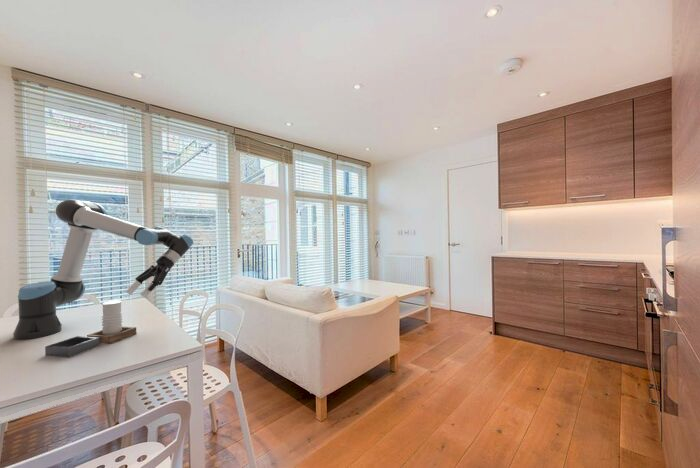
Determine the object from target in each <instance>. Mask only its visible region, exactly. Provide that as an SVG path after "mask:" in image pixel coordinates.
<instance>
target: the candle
mask: <svg viewBox="0 0 700 468" xmlns="http://www.w3.org/2000/svg"><path fill="white" fill-rule="evenodd" d="M122 302H123V301H122V300H110V301H106V302H103V303H101V305H102V316H101V318H102V319H101V326H102V330H103V334H105V336H112V335H114V334H117V333H120V331H122V327H123V325H122V323H123V312H122Z"/></svg>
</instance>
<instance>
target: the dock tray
mask: <svg viewBox="0 0 700 468" xmlns="http://www.w3.org/2000/svg"><path fill="white" fill-rule="evenodd" d="M134 335H137V327H136V326H122V331H120V333H117V334H114V335H112V336H105V334H103V329H101V330H99V331H96V332H93V333H89V334H86V337H98V338H99V344H104V345H105V344H107V345H112V344H115V343H116V342H119V341H121V340H124V339H127V338H130V337H132V336H134Z"/></svg>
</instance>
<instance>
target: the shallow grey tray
mask: <svg viewBox="0 0 700 468" xmlns="http://www.w3.org/2000/svg"><path fill="white" fill-rule="evenodd" d="M99 346H100V343H99V338H98V337H87V336H82V335H81V336H80V335H77V336H74V337H70V338H67V339H64V340H61V341H58V342H55V343H52V344H49V345H46V346H44V350H45V351H44V355H45V357H57V358H66V359H67V358H68V359H69V358H71V357H74V356H76V355H79V354H82V353H85V352H87V351H90V350H93V349H95V348H97V347H99Z"/></svg>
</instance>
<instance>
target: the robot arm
mask: <svg viewBox="0 0 700 468" xmlns="http://www.w3.org/2000/svg"><path fill="white" fill-rule="evenodd" d="M55 215H56V216H57V218H58V219H59V220H60V221H62V222H63V223H67V226H68V227H69V228H70V229H69V232H68V236H67V239H66V242H65V246H64V249H63V252H62V257H61V259H60V263H59V267H58V269H57V273H56V274H54V275H52V276H51V278H50V281H49V280H47V281H38V282H33V283H28V284H25V285H22V286H21V287H20V288H19V290H18V295H17V299H18V322H17V324H16V327H15V329H14V331H13V335H12V336H13V339H14V340H18V341H19V340H30V339H31V340H32V339H36V338H42V337H46V336H50V335H53V334H56V333H59V332H61V331H62V323H61V321H60V319H59V317H58V315H57V307H58V306H62V305H66V304H70V303H74V302H75V301H78V300H79V299H80V298H81V297H82V296H84V294H85V291H86V285H85V284H84V281H83V278H84V277H82V276H81V274H82V273H81V272H82V269H83V266H84V263H85V259H86V256H87V253H88V250H89V246H90V243H91V240H92V237H93V236H92V235H93V233H94V232H96V231H98V230H99V231H103V232H105V233H108V234H113V235H116V236H119V237H122V238H126V239H129V240H132V241H135V242H138V244H140V245H143V246H152V245H163V246H165V247H166V250H165V251H164V252H163V253H162V255H160V256H159V258H158V259H156V265H154V264H152V265H150V267H148V268H147V269H146V270H144V271H143V272H142V273H141V274H139V275H138V276H136V277H135V278H134V279H135V281H134V282H133V283H132V285H130V286H129V287H128V288H127V289H126V291H125V293H127V294H128V295H130V296H131V295H132V294H134V292H136V290H137V289H138V288H140V286H141V285H142V284H143V282H145V281H146V280H148V279H150V278H152V277H153V280H152V281H151V282H150V283H149V284H148V285H147V286H146V288H145V289H143V291H142V292H141V293H139V296H141V297H143V298H144V299H146V298H147V297H148V296H149V295H150V294H151V292H152V291H153V290H154V289H155V288H156V287H158V286H161V285H162V284H163V282H164V281H165V279H166V277H167V275H168V273H169V272H170V270H171V269H172V268H174V266H175V264H176V263H178V262H179V260H180V259H181V258H182V257H183V256H184V255H185V254H186V253H187V252H188V250H190V248H191V247H192V246H193V244H194V240H193V238H191V237H190V236H189V235H187V234H184V233H183V234H181V235H180V236H179V235H177V234H176V233H173V232H171V231H170V230H168V229H166V228H164V227H162V226H160V225H158V226H155V227H153V228H149V227H147V226H142V225H139V224H136V223H132V222H130V221H126V220H123V219H120V218H117V217H113V216H111V215H108V214H107V210H106V209H105V208H104V206H103V205H101V204H100V203H97V202H93V201H88V200H77V199H66V200H63V201H61V202H59V203H58V204H57V205H56V207H55Z"/></svg>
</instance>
